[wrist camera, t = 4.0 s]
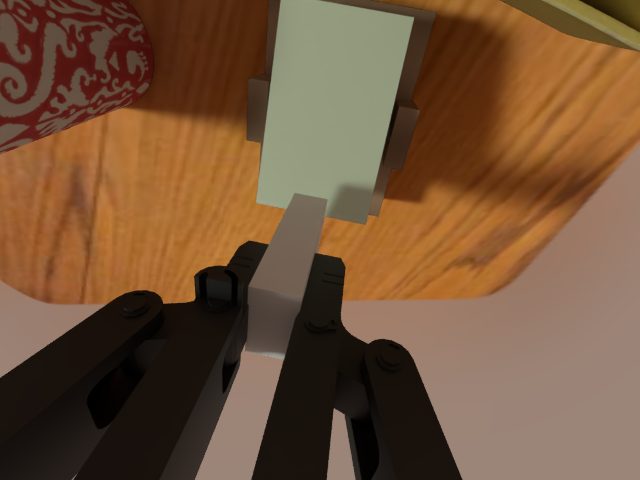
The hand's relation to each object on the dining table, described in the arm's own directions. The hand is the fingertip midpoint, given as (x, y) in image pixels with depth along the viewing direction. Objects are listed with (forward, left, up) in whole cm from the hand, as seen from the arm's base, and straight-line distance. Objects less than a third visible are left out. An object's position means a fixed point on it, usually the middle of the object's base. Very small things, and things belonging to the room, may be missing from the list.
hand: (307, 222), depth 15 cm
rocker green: (-4, 0, -5) cm, 6 cm away
